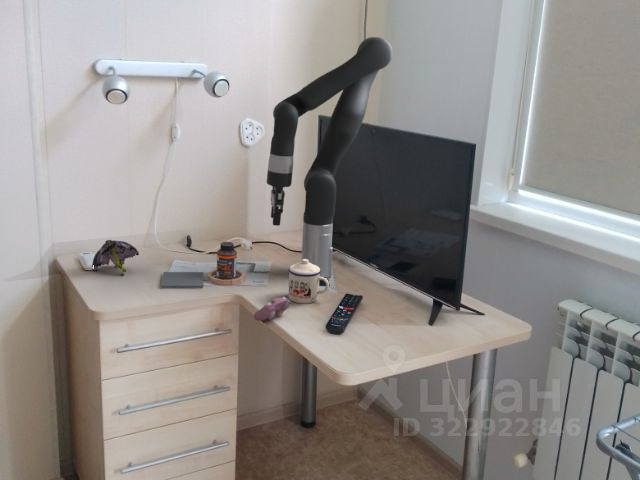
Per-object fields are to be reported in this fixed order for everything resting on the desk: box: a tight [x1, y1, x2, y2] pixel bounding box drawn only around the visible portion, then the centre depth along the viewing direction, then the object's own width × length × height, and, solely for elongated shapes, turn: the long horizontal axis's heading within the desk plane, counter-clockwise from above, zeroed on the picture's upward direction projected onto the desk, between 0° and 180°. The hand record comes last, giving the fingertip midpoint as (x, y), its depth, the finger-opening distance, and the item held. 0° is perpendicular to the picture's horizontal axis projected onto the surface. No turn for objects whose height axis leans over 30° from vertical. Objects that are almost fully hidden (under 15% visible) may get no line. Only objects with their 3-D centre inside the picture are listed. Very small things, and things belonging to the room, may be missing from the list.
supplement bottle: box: [216, 241, 238, 280], centre depth 207 cm, size 6×6×11 cm
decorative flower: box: [91, 239, 140, 277], centre depth 208 cm, size 14×12×15 cm
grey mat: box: [160, 271, 204, 289], centre depth 205 cm, size 12×12×1 cm
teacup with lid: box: [288, 258, 330, 304], centre depth 195 cm, size 12×9×12 cm
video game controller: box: [253, 296, 292, 321], centre depth 181 cm, size 10×5×7 cm, turn 143°
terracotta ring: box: [207, 268, 246, 286], centre depth 209 cm, size 11×11×1 cm
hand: (275, 221), depth 210 cm, fingers open, 8 cm apart
